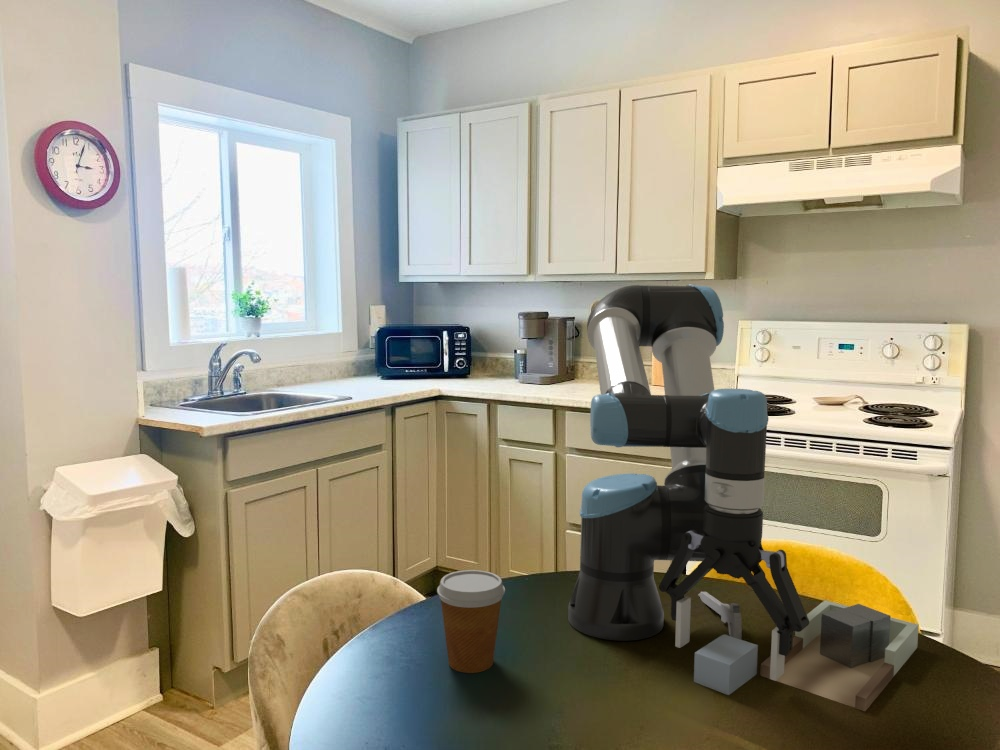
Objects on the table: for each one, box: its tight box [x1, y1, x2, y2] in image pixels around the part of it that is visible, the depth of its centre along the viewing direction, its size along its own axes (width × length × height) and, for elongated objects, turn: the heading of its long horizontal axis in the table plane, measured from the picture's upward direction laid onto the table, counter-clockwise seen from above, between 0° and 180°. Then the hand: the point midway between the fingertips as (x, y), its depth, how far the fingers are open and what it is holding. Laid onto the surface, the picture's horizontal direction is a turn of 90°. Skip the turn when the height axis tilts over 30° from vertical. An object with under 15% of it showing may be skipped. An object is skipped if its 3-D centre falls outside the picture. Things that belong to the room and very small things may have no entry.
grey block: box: [693, 633, 759, 696], centre depth 102 cm, size 5×5×8 cm
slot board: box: [759, 633, 918, 712], centre depth 108 cm, size 13×24×2 cm, turn 138°
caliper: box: [697, 591, 743, 640], centre depth 123 cm, size 20×1×6 cm, turn 1°
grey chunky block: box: [843, 603, 892, 662], centre depth 110 cm, size 5×4×6 cm
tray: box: [794, 599, 919, 678], centre depth 112 cm, size 13×12×4 cm
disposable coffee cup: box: [436, 569, 506, 674], centre depth 107 cm, size 10×10×12 cm
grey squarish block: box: [820, 609, 871, 668], centre depth 108 cm, size 5×4×6 cm
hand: (727, 659), depth 103 cm, fingers open, 13 cm apart
